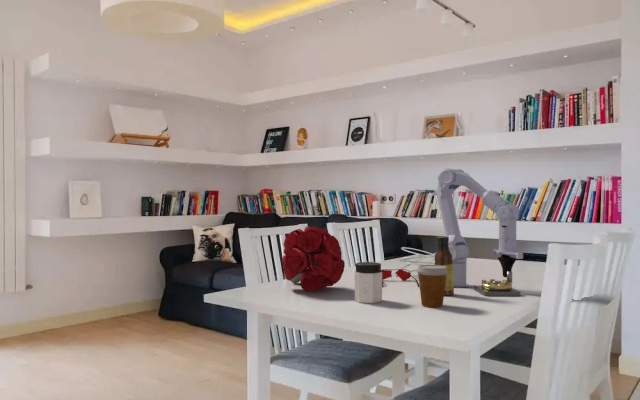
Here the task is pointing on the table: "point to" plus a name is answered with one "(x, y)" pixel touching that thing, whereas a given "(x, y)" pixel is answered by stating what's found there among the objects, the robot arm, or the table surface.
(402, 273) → the glasses
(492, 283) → the gold round piece
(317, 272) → the bouquet
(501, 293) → the base plate
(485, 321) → the table surface
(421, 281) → the disposable coffee cup
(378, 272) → the jar
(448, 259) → the sauce bottle
